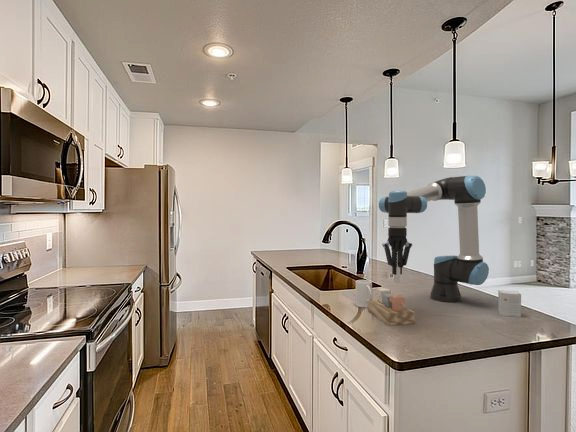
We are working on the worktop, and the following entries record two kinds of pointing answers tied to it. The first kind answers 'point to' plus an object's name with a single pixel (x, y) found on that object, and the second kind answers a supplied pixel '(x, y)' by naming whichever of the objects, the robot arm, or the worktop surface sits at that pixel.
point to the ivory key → (382, 291)
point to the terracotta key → (397, 302)
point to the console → (390, 314)
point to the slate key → (387, 300)
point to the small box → (509, 303)
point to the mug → (363, 293)
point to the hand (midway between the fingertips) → (397, 282)
